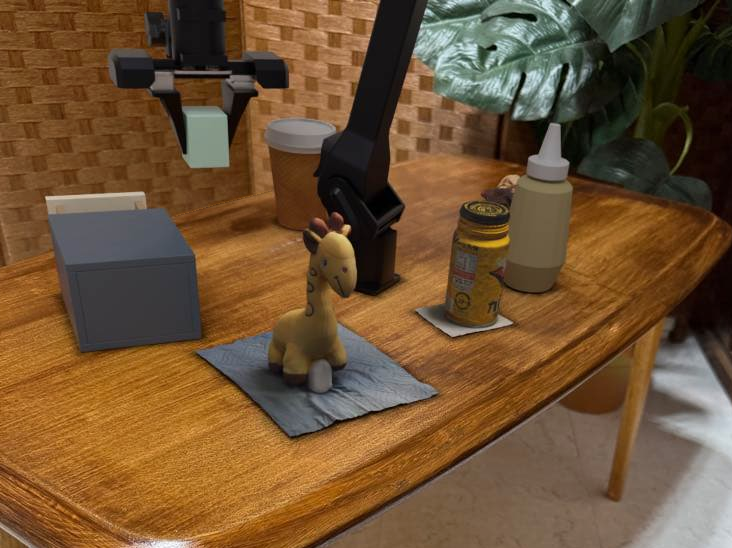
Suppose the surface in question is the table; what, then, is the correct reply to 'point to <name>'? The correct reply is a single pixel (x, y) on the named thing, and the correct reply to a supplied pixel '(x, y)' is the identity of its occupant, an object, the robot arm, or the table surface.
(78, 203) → the drawer
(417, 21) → the robot arm
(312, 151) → the disposable coffee cup
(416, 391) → the stuffed giraffe
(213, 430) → the table surface
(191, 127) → the block
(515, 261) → the squeeze bottle
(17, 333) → the table surface
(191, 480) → the table surface
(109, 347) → the cabinet
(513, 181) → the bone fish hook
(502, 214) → the condiment
